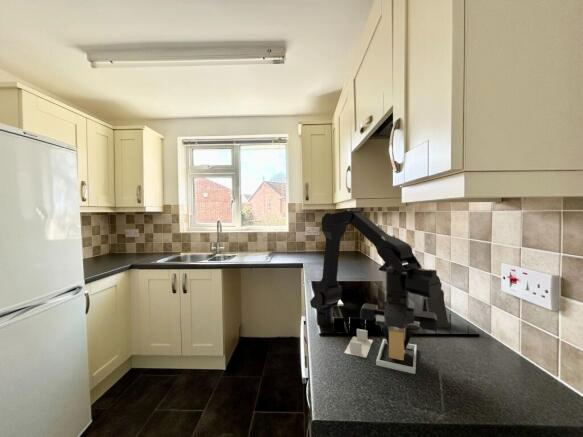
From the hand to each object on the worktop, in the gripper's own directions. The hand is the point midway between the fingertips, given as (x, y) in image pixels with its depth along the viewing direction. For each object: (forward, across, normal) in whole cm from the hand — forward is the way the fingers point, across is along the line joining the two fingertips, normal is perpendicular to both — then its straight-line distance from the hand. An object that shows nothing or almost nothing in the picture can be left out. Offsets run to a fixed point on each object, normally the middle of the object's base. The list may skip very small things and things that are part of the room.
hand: (397, 347), depth 73 cm
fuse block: (+3, -10, +2) cm, 11 cm away
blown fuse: (+1, 0, 0) cm, 1 cm away
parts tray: (+3, 0, 0) cm, 3 cm away
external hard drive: (+4, -32, +36) cm, 48 cm away
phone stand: (+3, +10, +32) cm, 33 cm away
